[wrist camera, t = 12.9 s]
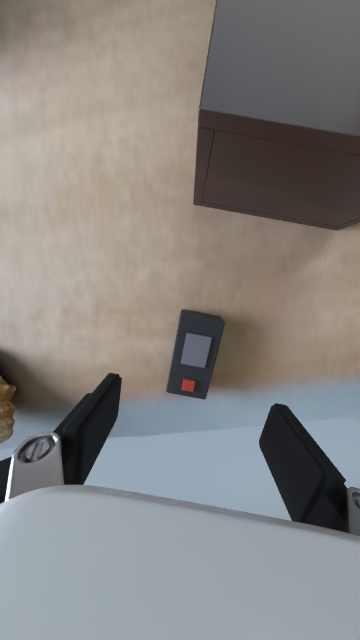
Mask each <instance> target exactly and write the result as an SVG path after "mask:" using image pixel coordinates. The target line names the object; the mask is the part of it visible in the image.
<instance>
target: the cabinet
mask: <svg viewBox="0 0 360 640" xmlns="http://www.w3.org/2000/svg"><path fill="white" fill-rule="evenodd" d="M193 204H194V205H200V206H205V207H211V208H216V209H222V210H227V211H233V212H239V213H244V214H250V215H255V216H261V217H266V218H272V219H277V220H283V221H289V222H294V223H300V224H305V225H311V226H316V227H322V228H328V229H333V230H340V229H343V228H346V227H349V226H352V225H355V224H358V223H360V0H216V6H215V13H214V19H213V25H212V31H211V37H210V44H209V50H208V56H207V62H206V68H205V74H204V81H203V87H202V93H201V99H200V105H199V115H198V132H197V150H196V167H195V185H194V203H193Z"/></svg>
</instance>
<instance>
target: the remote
mask: <svg viewBox="0 0 360 640" xmlns="http://www.w3.org/2000/svg"><path fill="white" fill-rule="evenodd" d="M224 324H225V322H224V321H223V320H222V318H221V317H220V316H215V315H209V314H204V313H199V312H193V311H188V310H181V314H180V319H179V325H178V330H177V336H176V341H175V347H174V352H173V358H172V363H171V369H170V374H169V379H168V385H167V390H166V392H169V393H174V394H179V395H184V396H189V397H195V398H200V399H206V396H207V392H208V388H209V384H210V380H211V376H212V372H213V368H214V364H215V360H216V356H217V352H218V348H219V344H220V340H221V336H222V332H223V328H224Z"/></svg>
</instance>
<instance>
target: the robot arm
mask: <svg viewBox="0 0 360 640" xmlns="http://www.w3.org/2000/svg"><path fill="white" fill-rule="evenodd" d="M121 382H122V378H121V377H119V374H114V373H109V374H108V375H107V376H106V377H105V378H104V380H103V381H102V382H101V383H100V384H99V386H98V387H97V388H96V389H95V390H94V392H93V393H87V394H86V395H85V396H84V397H83V398H82V400H81V401H80V402H79V403H78V404H77V405H76V406H75V407H74V409H73V410H72V411H71V412H70V413H69V414H68V415H67V417H66V418H65V419H64V420H63V421H62V422H61V423H60V424H59V426H58V427H57V428H56V429H55V430H54V431H53V432H41V433H37V434H35V435H33V436H30V437H29V438H27V439H26V440H24V441H23V442H22V443H21V444H19V445H18V447H17V448H16V449H15V451H14V452H13V455H12V457H9V458H7V459H5V460H2V461H0V640H360V489H358V488H354V487H350V488H348V489H347V487H346V486H345V485H344V482H345V481H346V480H345V478H344V477H343V476H342V475H341V473H340V472H339V471H338V470H337V468H336V467H335V466H334V465H333V463H332V462H331V461H330V459H329V458H328V457H327V456H326V454H325V453H324V452H323V451H322V449H321V448H320V447H319V446H318V444H317V443H316V442H315V441H314V439H313V438H312V437H311V435H310V434H309V433H308V432H307V430H306V429H305V428H304V427H303V426H302V424H301V423H300V422H299V420H298V419H297V418H296V417H295V415H294V414H293V413H292V412H291V410H290V409H289V408H288V407H287V406H286V405H282V404H277V403H276V404H274V405H273V406H271V409H270V412H269V414H268V417H267V420H266V423H265V426H264V428H263V431H262V434H261V437H260V440H259V445H260V448H261V451H262V453H263V455H264V457H265V460H266V462H267V464H268V467H269V469H270V471H271V474H272V476H273V478H274V480H275V483H276V485H277V487H278V490H279V492H280V494H281V497H282V499H283V501H284V503H285V506H286V508H287V510H288V513H289V515H290V517H291V519H292V521H289V520H284V519H278V518H273V517H267V516H263V515H257V514H252V513H247V512H241V511H236V510H230V509H225V508H220V507H214V506H209V505H203V504H197V503H192V502H186V501H181V500H175V499H169V498H164V497H157V496H153V495H147V494H141V493H136V492H130V491H123V490H117V489H110V488H104V487H96V486H87V485H83V484H84V482H85V480H86V478H87V476H88V474H89V472H90V471H91V469H92V467H93V465H94V463H95V460H96V459H97V457H98V455H99V453H100V451H101V449H102V447H103V445H104V443H105V441H106V439H107V437H108V435H109V433H110V431H111V429H112V427H113V425H114V423H115V421H116V419H117V416H118V409H119V400H120V391H121Z"/></svg>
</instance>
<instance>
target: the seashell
mask: <svg viewBox="0 0 360 640" xmlns="http://www.w3.org/2000/svg"><path fill="white" fill-rule="evenodd" d="M15 391H16V387H15V386H12V385H9V384H7V383H6V381H4V380H3V379H2V377H1V376H0V443H2V442H4V441H5V440H7V439H9V438H10V437H11V436H12V434H13V429H12V428H13V425H14V422H15V421H14V419H13V414H14V412H15V409H16V408H15V406H14V405H13V404H12V403H11V402H10V400H11V398H12V397H13V396H14V395H15Z"/></svg>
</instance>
